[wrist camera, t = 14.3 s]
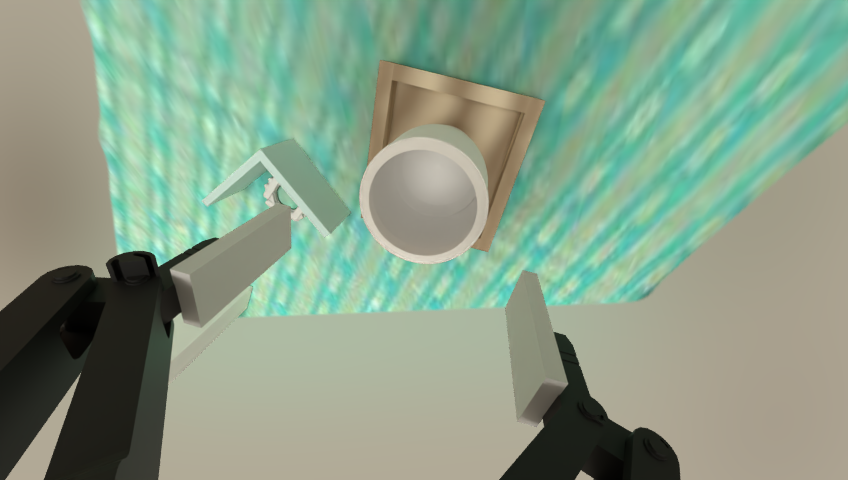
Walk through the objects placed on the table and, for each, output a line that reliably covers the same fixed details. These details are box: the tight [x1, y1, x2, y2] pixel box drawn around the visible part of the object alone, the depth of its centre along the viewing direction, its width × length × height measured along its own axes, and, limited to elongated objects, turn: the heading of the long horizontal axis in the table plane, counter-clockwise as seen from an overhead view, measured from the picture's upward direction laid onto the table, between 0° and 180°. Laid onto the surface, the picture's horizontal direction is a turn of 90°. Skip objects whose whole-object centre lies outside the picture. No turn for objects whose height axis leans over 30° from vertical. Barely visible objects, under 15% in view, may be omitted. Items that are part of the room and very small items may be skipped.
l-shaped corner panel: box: [202, 138, 351, 238], centre depth 41 cm, size 12×12×8 cm
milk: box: [168, 285, 253, 385], centre depth 45 cm, size 6×6×22 cm
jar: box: [359, 124, 489, 264], centre depth 30 cm, size 11×10×15 cm
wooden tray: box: [361, 60, 545, 252], centre depth 36 cm, size 17×18×4 cm
